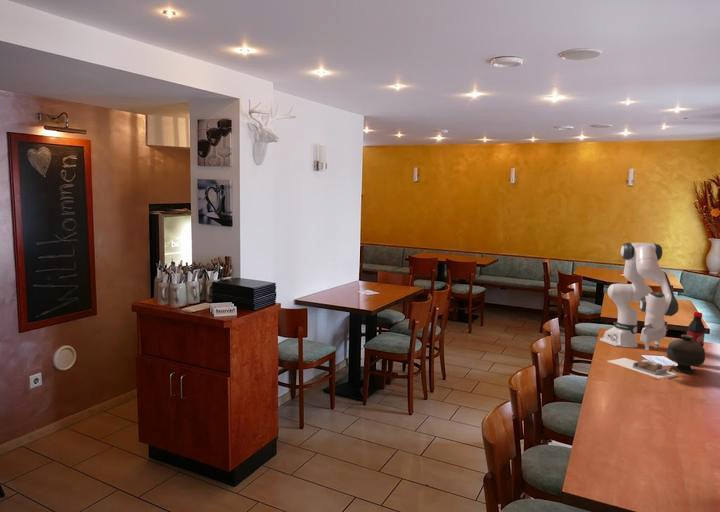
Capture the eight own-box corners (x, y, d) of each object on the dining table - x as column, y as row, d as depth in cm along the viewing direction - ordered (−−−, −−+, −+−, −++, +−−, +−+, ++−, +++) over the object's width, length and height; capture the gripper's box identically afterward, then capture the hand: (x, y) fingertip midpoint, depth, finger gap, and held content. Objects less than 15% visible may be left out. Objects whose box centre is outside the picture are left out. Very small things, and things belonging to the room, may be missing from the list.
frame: (637, 368, 284) (638, 360, 284) (642, 366, 288) (643, 358, 287) (656, 373, 276) (657, 365, 276) (661, 371, 280) (662, 363, 279)
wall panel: (606, 363, 296) (607, 356, 295) (624, 359, 303) (625, 353, 303) (658, 380, 270) (658, 373, 269) (676, 376, 277) (677, 369, 277)
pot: (671, 373, 279) (674, 336, 279) (660, 366, 297) (663, 330, 296) (709, 378, 275) (713, 340, 275) (695, 370, 293) (699, 334, 292)
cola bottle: (704, 367, 295) (710, 314, 292) (689, 366, 295) (695, 313, 292) (695, 362, 303) (701, 311, 300) (680, 361, 304) (686, 310, 300)
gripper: (650, 326, 270) (648, 352, 272) (669, 322, 282) (666, 347, 284) (638, 324, 275) (635, 349, 277) (657, 319, 287) (654, 344, 289)
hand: (651, 348), depth 281 cm, fingers open, 8 cm apart
